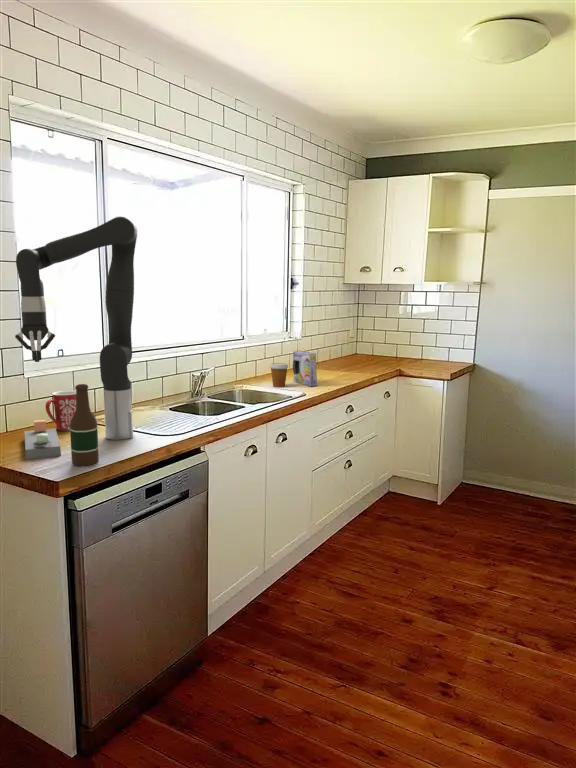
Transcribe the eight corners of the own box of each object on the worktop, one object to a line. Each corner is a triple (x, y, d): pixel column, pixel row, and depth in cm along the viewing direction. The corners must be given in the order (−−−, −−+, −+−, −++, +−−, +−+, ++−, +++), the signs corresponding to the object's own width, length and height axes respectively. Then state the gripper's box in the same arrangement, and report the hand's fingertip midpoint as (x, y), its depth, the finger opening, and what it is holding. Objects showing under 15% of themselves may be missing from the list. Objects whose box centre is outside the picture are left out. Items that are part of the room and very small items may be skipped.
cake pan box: (291, 381, 327) (292, 350, 324) (299, 381, 329) (300, 349, 326) (309, 387, 310) (309, 353, 307) (317, 386, 313) (317, 353, 310)
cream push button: (48, 440, 191) (47, 434, 190) (48, 443, 187) (48, 437, 187) (35, 441, 189) (35, 435, 189) (36, 444, 186) (35, 438, 186)
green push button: (48, 438, 186) (48, 432, 186) (48, 441, 183) (48, 435, 183) (36, 440, 185) (35, 433, 185) (36, 442, 182) (35, 436, 181)
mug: (70, 424, 226) (68, 389, 223) (85, 427, 221) (83, 392, 218) (40, 430, 215) (37, 394, 213) (55, 434, 210) (52, 397, 208)
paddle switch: (46, 429, 204) (45, 419, 203) (46, 430, 201) (45, 421, 201) (34, 430, 202) (34, 420, 202) (34, 431, 200) (34, 422, 199)
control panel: (56, 436, 208) (55, 428, 207) (61, 456, 185) (60, 446, 184) (25, 439, 203) (24, 430, 203) (26, 459, 180) (25, 450, 180)
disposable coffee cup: (281, 388, 305) (281, 365, 303) (266, 386, 310) (266, 364, 308) (291, 386, 313) (291, 363, 311) (276, 384, 318) (276, 362, 316)
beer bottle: (82, 458, 182) (78, 382, 178) (104, 460, 180) (100, 383, 176) (66, 465, 175) (61, 386, 171) (88, 468, 173) (84, 387, 169)
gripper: (54, 309, 203) (57, 359, 206) (11, 310, 198) (15, 361, 201) (55, 310, 196) (58, 362, 199) (11, 311, 191) (15, 364, 194)
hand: (36, 361), depth 200 cm, fingers closed
